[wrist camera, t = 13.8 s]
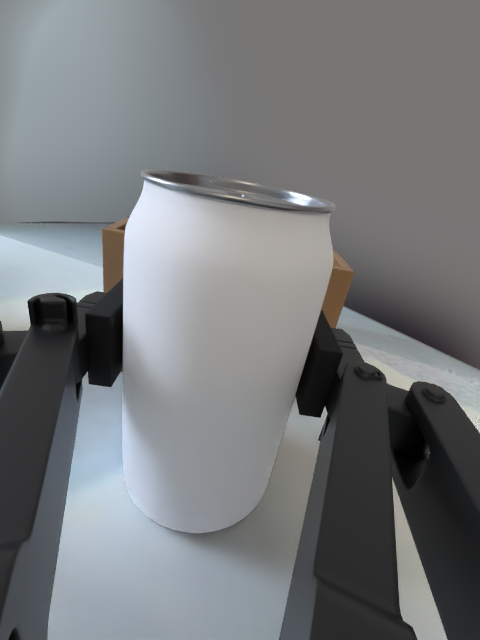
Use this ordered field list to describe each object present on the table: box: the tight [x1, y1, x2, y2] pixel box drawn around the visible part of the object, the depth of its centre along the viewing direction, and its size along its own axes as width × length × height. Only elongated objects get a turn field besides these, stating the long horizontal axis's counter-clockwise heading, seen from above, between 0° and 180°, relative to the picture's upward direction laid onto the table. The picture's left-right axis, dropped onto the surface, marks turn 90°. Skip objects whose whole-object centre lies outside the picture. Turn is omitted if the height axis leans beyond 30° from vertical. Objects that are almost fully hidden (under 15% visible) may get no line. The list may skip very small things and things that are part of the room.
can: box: [123, 169, 335, 533], centre depth 12 cm, size 6×6×12 cm
